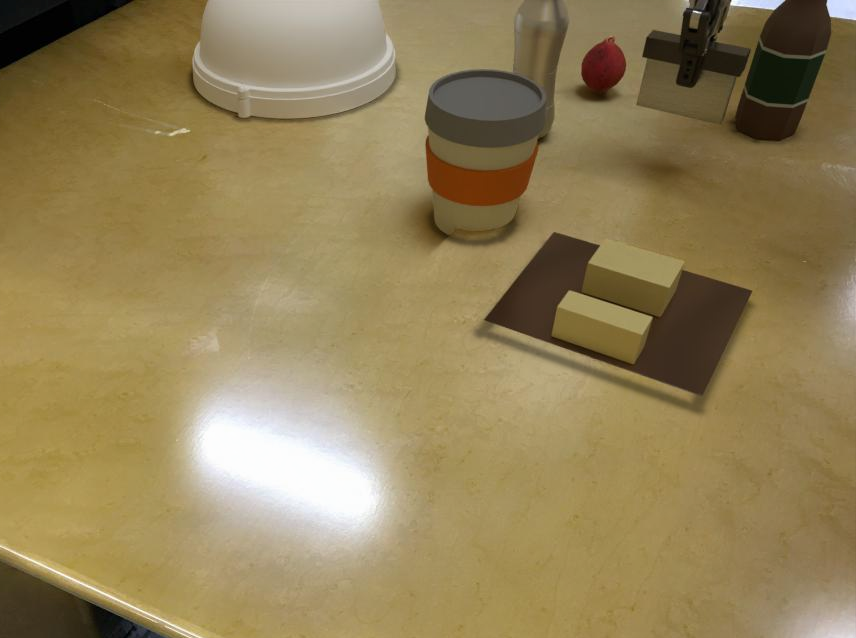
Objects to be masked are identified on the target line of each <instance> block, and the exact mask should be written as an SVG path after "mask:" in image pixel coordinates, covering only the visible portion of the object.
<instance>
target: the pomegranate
mask: <svg viewBox="0 0 856 638" xmlns="http://www.w3.org/2000/svg"><path fill="white" fill-rule="evenodd" d="M615 41H616V37H615V36H614V35H613V34H610V35H607V36H606V37H604V39H603V41H601V42H599V43H597V44H595V45H594V46H593V47H592V48H590V49H589V50H588V51H587V52H586V54H585V55H584V57H583V59H582V63H581V71H580V75H581V79H582V81H583V83H584V84H585V85H586V86H587V88H588V89H590V90H591V91H592V92H593V93H595V94H597V95H601V94H603V93H605V92H607V91H608V90H610V89H612V88H614V87H616V86H617V85H618V84H619V83H620V81H622V79H623V78H624V75H625V73H626V69H627V60H626V57H625V54H624V52H623V50H622V48H621V47H620V46H619V45H617V44H616V43H615Z"/></svg>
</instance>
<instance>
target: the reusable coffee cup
mask: <svg viewBox="0 0 856 638" xmlns="http://www.w3.org/2000/svg"><path fill="white" fill-rule="evenodd" d="M545 115H546V93H545V91H544V89H543V88H542V87H541V86H540V85H539V84H538V83H536V82H535V81H533V80H532V79H530V78H527V77H525V76H522V75H519V74H516V73H513V71H506V70H501V69H492V68H489V69H487V68H478V69H477V68H476V69H467V70H459V71H456V72H451V73H449V74H445V75H442V77H439V78H438V79H436V80H435V81H434V82H433V83H432V84H431V86H430V88H429V89H428V95H427V101H426V107H425V112H424V122H425V125H426V126H427V132H428V133H427V134H428V135H427V137H426V139H425V155H426V156H425V159H426V172H427V182H428V186H429V187H430V188H431V191H432V204H433V205H432V206H433V219H434V223H435V226H436V227H437V228H438V229H439V230H440V231H442V232H443V233H444V234H446V235H448V236H450V235H451V234H452V233H453V232H454V231H455V230H456V229H460V230H465V231H466V230H467V231H473V232H475V231H476V232H482V231H491V230H497V229H499V228H502V227H505V226H506V225H508V224H509V223H510V222H511V221H513V219H514V218H515V216H516V213H517V211H518V206H519V203H520V201H521V196H522V195H524V193H525V192H526V191H527V189H528V186H529V182H530V179H531V176H532V173H533V169H534V166H535V164H536V163H535V162H536V159H537V156H538V152H539V143H538V136H539V134H540V132H541V131H542V130H543V128H544V126H545Z"/></svg>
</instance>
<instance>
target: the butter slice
mask: <svg viewBox="0 0 856 638" xmlns="http://www.w3.org/2000/svg"><path fill="white" fill-rule="evenodd" d="M652 319H653V317H651V316H648V315H645V314H642V313H639V312H636V311H633V310H629V309H626V308H623V307H620V306H617V305H614V304H611V303H608V302H605V301H601V300H598V299H595V298H592V297H589V296H586V295H583V294H580V293H577V292H573V291H570V290H569V291H568V292H567V294H566V295H565V297H564V298H563V299H562V301H561V302H560V304H559V305H558V306H557V310H556V315H555V320H554V325H553V330H552V335H551V336H552V337H555V338H558V339H561V340H564V341H567V342H569V343H572V344H575V345H578V346H581V347H584V348H587V349H590V350H593V351H595V352H598V353H601V354H604V355H607V356H610V357H613V358H616V359H619V360H621V361H624V362H627V363H630V364H634V363H635V362H636V360H637V358H638V357H639V355H640V353H641V351H642V350H643V348H644V346H645V342H646V339H647V336H648V332H649V329H650V326H651V322H652Z"/></svg>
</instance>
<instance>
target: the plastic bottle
mask: <svg viewBox="0 0 856 638" xmlns="http://www.w3.org/2000/svg"><path fill="white" fill-rule="evenodd" d="M513 21H514V22H513V26H514V28H513V33H514V35H513V37H514V38H513V39H514V42H513V43H514V50H513V51H514V52H513V65H512V73H516V74H519V75H522V76H525V77H527V78H530V79H532V80H533V81H535V82H536V83H538V84H539V85H540V86H541V87H542V88H543V89H544V91H545V93H546V115H545V126H544V128H543V130H542V131H541V132H540V134H539V136H538V139H542V138H544V137H545V136H546V135H547V134H548V133H549V132H550V131H551V129H552V127H553V124H554V121H555V113H556V112H555V111H556V109H555V108H556V106H555V104H556V103H555V92H556V91H555V90H556V79H557V77H556V76H557V70H558V66H559V63H560V57H561V53H562V49H563V46H564V42H565V40H566V36H567V34H568V33H567V32H568V30H569V24H570V13H569V11H568V8H567V5H566V2H565V1H564V0H523V1H522V2H521V4H520V5H519V7H518V8H517V10H516V12H515V15H514V19H513ZM538 139H537V140H538Z"/></svg>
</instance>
